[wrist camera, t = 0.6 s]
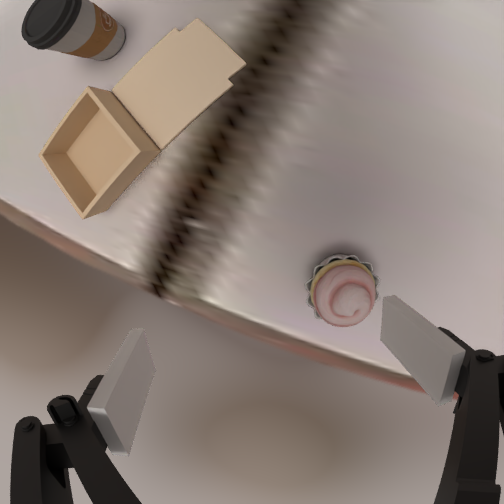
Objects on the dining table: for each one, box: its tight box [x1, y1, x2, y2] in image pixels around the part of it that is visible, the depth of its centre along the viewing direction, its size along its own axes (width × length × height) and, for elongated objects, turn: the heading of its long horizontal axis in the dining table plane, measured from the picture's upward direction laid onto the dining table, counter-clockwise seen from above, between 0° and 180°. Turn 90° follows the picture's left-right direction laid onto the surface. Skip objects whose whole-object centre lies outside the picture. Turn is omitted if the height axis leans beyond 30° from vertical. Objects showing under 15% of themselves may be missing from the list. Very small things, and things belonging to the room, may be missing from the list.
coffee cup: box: [22, 0, 125, 61], centre depth 26 cm, size 8×8×15 cm
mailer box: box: [39, 18, 247, 219], centre depth 33 cm, size 28×12×6 cm, turn 130°
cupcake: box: [304, 254, 380, 327], centre depth 35 cm, size 9×9×10 cm
